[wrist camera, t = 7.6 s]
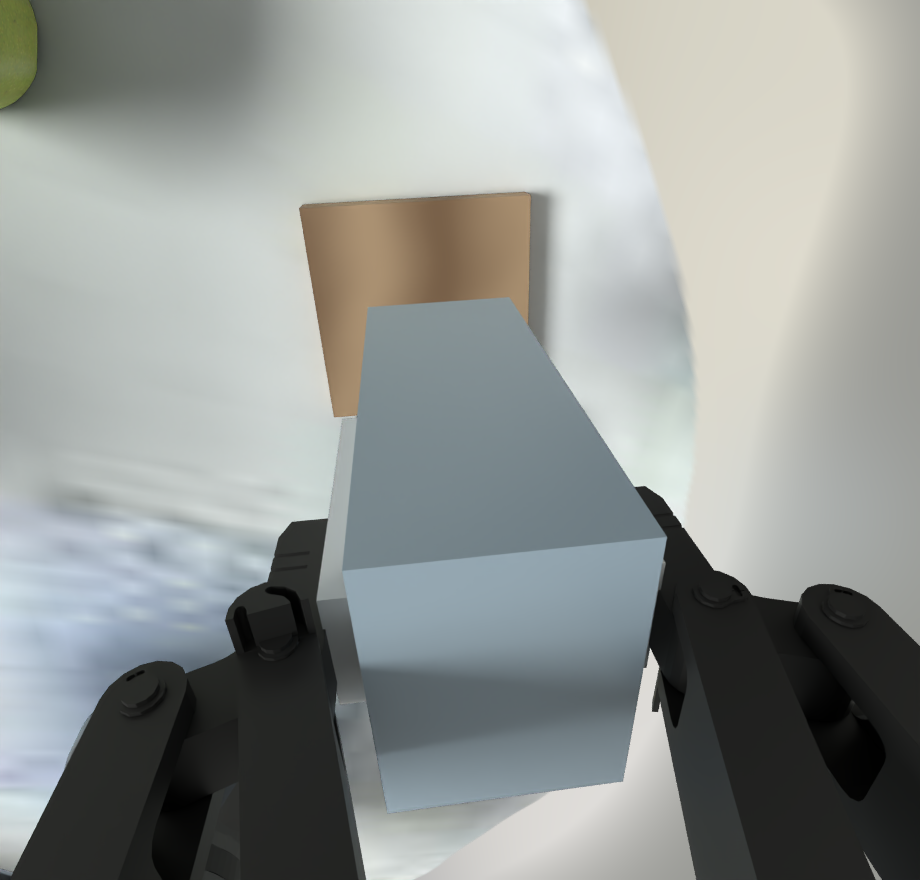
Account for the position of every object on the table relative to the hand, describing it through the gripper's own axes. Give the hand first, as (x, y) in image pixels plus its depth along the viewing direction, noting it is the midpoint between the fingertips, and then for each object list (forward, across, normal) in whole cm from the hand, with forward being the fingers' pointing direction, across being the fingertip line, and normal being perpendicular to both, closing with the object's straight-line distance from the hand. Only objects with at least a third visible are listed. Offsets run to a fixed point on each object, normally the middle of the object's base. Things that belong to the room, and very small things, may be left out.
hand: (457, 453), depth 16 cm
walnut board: (+14, 0, 0) cm, 14 cm away
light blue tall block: (+4, 0, 0) cm, 4 cm away
